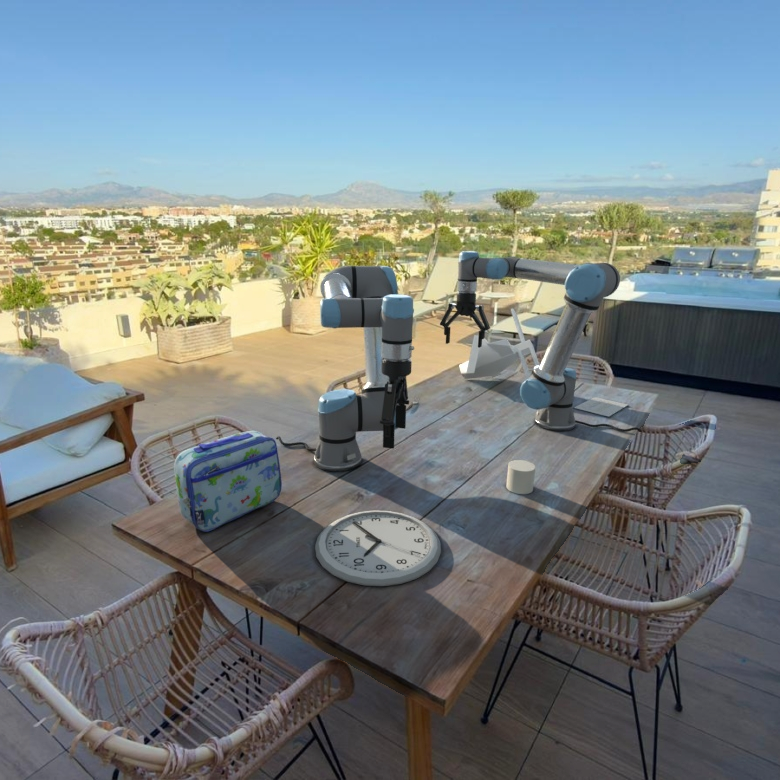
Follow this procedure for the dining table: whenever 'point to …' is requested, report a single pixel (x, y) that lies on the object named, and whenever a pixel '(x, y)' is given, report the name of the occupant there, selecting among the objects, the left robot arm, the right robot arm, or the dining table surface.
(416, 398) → the fork
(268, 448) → the lunch box
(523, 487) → the canister
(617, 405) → the invitation card
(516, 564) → the dining table surface
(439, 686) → the dining table surface
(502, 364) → the white plastic object
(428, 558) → the wall clock
